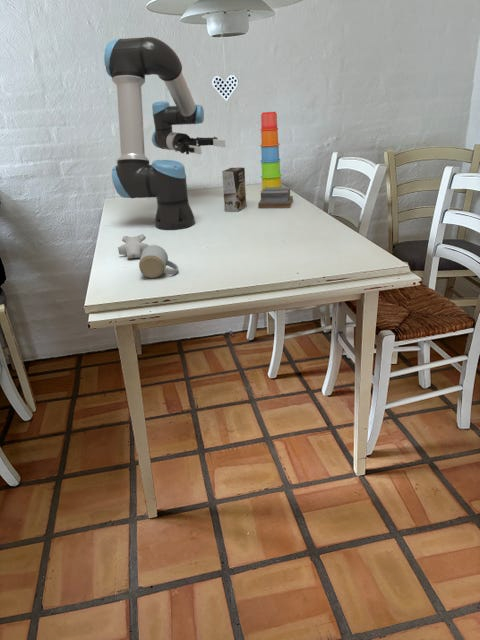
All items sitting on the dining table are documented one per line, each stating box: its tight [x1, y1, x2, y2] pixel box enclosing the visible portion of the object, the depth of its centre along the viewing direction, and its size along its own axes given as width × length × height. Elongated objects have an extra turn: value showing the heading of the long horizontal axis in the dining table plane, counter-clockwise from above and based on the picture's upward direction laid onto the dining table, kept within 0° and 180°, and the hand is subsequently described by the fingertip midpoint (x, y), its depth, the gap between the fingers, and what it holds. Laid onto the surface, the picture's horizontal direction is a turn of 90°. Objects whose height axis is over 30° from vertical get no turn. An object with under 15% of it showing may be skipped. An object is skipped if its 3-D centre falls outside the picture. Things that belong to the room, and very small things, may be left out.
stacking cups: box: [259, 111, 283, 193], centre depth 216 cm, size 10×10×35 cm
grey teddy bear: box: [117, 234, 149, 260], centre depth 155 cm, size 10×5×15 cm
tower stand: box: [257, 186, 294, 209], centre depth 201 cm, size 13×13×6 cm
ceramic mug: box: [138, 244, 179, 279], centre depth 136 cm, size 11×8×8 cm
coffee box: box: [222, 167, 247, 212], centre depth 196 cm, size 9×6×16 cm
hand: (212, 147), depth 194 cm, fingers open, 13 cm apart
